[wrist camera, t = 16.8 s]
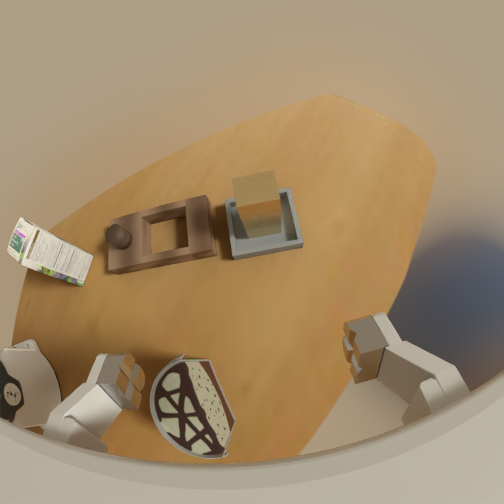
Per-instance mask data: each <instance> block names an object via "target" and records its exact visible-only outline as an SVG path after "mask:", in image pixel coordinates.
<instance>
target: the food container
mask: <svg viewBox="0 0 504 504" xmlns="http://www.w3.org/2000/svg"><path fill="white" fill-rule="evenodd" d="M184 355H185V354H182V355H180V356H178V357H176V358H175V359H173V360H172V361H170V362H169V363H168V364H167V365H166V366H165V367H164V368H163V369H161V371H160V372H159V373H158V375H157V376H156V378H155V380H154V382H153V385H152V388H151V392H150V410H151V414H152V417H153V420H154V423H155V424H156V426H157V428H158V430H159V431H160V432H161V434H162V435H163V436H164V437H165V438H166V440H167V441H168V442H170V443H171V444H172V445H173V446H175V447H176V448H178V449H179V450H181V451H183V452H185V453H187V454H189V455H192V456H196V457H200V458H206V459H217V458H223V457H226V456H227V455H228V454H229V453H225V451H226V449H227V446H228V443H229V440H230V437H231V434H232V431H233V428H234V426H235V423H236V419H235V417H234V415H233V413H232V411H231V409H230V406H229V404H228V402H227V400H226V397H225V395H224V393H223V390H222V388H221V386H220V383H219V381H218V379H217V376H216V374H215V371H214V369H213V366H212V364H211V361H210V359H192V360H182V357H183V356H184Z"/></svg>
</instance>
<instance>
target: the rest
mask: <svg viewBox="0 0 504 504" xmlns="http://www.w3.org/2000/svg"><path fill="white" fill-rule="evenodd" d="M278 191H279V196H280V203H281V224H282V233H277V234H272V235H267V236H261V237H256V238H251V239H249V238H248V235H247V233H246V230H245V228H244V225H243V223H242V220H241V218H240V215H239V213H238V210H237V208H236V202H235V198H231V199H227V200H225V207H226V214H227V221H228V228H229V236H230V243H231V249H232V256H233V258H234V259H235V260H238V259H244V258H249V257H254V256H260V255H265V254H270V253H275V252H281V251H286V250H291V249H297V248H302V247H303V238H302V234H301V230H300V225H299V221H298V217H297V213H296V209H295V205H294V201H293V197H292V193H291V189H290V187H288V188H283V189H278Z"/></svg>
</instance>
